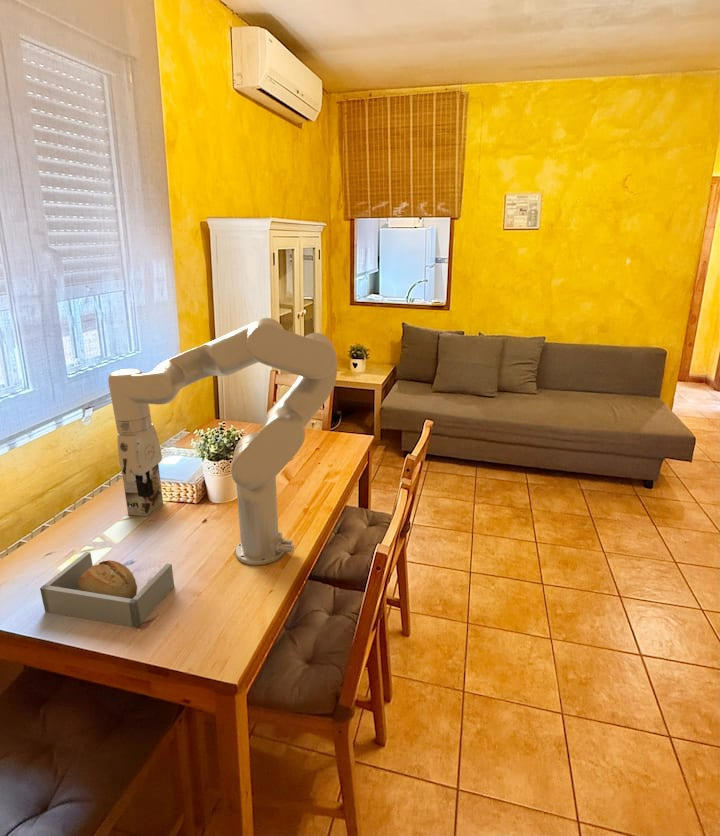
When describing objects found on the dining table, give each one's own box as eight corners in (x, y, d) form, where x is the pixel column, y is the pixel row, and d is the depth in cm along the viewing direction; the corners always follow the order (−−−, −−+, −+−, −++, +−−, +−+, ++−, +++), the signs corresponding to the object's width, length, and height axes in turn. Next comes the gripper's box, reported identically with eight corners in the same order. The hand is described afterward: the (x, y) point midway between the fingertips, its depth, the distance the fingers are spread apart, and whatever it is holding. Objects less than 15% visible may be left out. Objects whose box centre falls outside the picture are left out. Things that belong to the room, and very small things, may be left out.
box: (174, 586, 125) (171, 564, 123) (137, 627, 112) (133, 603, 110) (89, 573, 130) (85, 551, 128) (45, 611, 117) (39, 588, 115)
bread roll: (105, 577, 129) (100, 547, 126) (150, 595, 122) (146, 565, 120) (68, 600, 121) (62, 569, 118) (115, 621, 114) (109, 589, 112)
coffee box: (147, 517, 156) (140, 465, 150) (127, 514, 157) (119, 463, 152) (164, 502, 164) (158, 453, 159) (145, 500, 165) (138, 451, 160)
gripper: (128, 436, 116) (142, 511, 122) (166, 413, 130) (176, 483, 136) (98, 434, 118) (112, 509, 124) (138, 412, 132) (150, 480, 138)
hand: (146, 495), depth 130 cm, fingers closed
